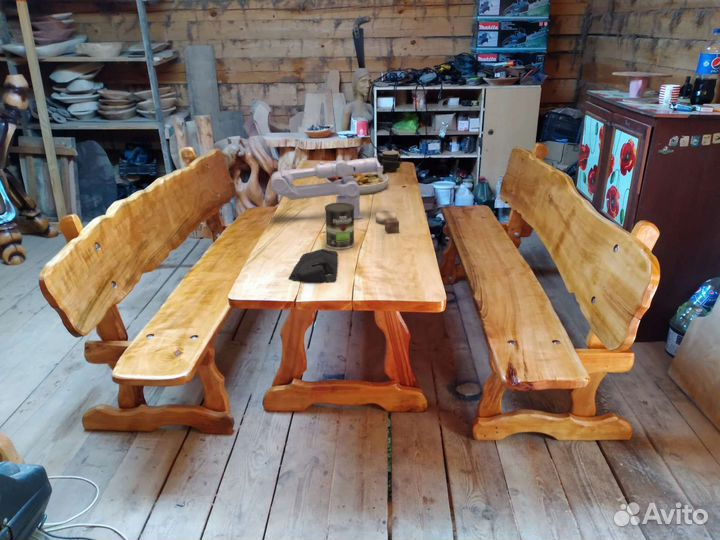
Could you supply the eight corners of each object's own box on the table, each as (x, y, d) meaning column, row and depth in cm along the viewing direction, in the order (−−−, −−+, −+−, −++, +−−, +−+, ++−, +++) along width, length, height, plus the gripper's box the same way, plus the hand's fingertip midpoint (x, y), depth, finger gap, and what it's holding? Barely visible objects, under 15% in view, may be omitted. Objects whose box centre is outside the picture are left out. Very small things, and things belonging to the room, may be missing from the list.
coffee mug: (379, 170, 296) (380, 151, 292) (394, 168, 299) (395, 150, 294) (387, 175, 286) (387, 156, 282) (402, 174, 288) (403, 154, 284)
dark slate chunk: (344, 257, 189) (344, 244, 187) (335, 285, 169) (334, 271, 167) (300, 255, 190) (300, 243, 188) (286, 283, 171) (285, 269, 169)
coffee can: (357, 247, 196) (357, 209, 190) (329, 250, 193) (328, 212, 187) (350, 237, 205) (350, 201, 199) (323, 240, 202) (322, 203, 196)
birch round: (378, 226, 216) (378, 217, 215) (374, 219, 224) (374, 211, 222) (398, 225, 218) (398, 216, 216) (393, 218, 225) (394, 210, 223)
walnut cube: (387, 233, 208) (387, 222, 207) (384, 229, 212) (385, 218, 211) (398, 233, 209) (399, 221, 207) (396, 229, 213) (396, 218, 211)
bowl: (387, 179, 280) (387, 164, 277) (388, 196, 253) (389, 179, 250) (328, 179, 281) (327, 164, 278) (323, 196, 254) (323, 179, 250)
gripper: (366, 160, 211) (401, 156, 212) (360, 152, 224) (393, 148, 225) (367, 178, 214) (401, 174, 215) (362, 169, 227) (394, 165, 228)
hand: (397, 162), depth 220 cm, fingers open, 7 cm apart
